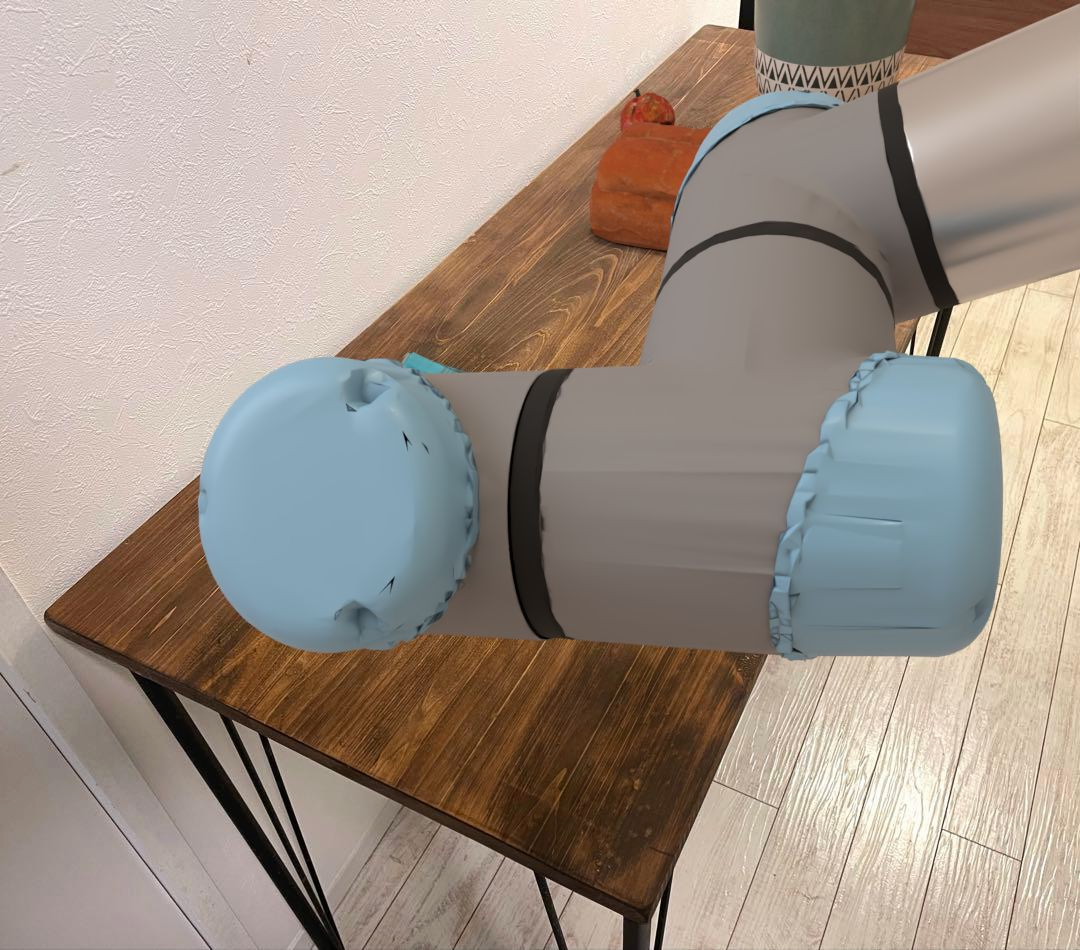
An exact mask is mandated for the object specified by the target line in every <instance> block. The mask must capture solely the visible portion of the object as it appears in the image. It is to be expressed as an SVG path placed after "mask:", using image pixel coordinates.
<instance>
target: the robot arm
mask: <svg viewBox="0 0 1080 950" xmlns="http://www.w3.org/2000/svg"><path fill="white" fill-rule="evenodd" d="M712 128H713V129H712V130H711V131H710V133H709V134H708V135H707V137H706V138H705V139H704V141H703V143H702V144H701V146H700V148H699V150H698V152H697V154H696V156H695V159H694V161H693V164H692V166H691V167H690V169H689V171H688V173H687V175H686V177H685V179H684V181H683V183H682V185H681V188H680V190H679V193H678V196H677V199H676V203H675V208H674V210H673V213H672V216H671V232H670V242H669V247H668V251H667V252H666V256H665V260H664V266H663V270H662V274H661V279H660V284H659V287H658V290H657V293H656V296H655V298H654V299H655V300H654V306H653V309H652V312H651V315H650V319H649V322H648V323H649V324H648V326H647V331H646V335H645V339H644V342H643V346H642V350H641V354H640V358H639V361H638V365H618V366H617V365H616V366H595V367H592V366H591V367H576V368H575V367H574V368H552V369H537V370H533V369H532V370H507V371H505V370H504V371H478V372H477V371H475V372H474V371H473V372H470V373H420V372H419V371H418V370H416V369H413V368H408V369H406V368H405V367H403V366H402V365H401V363H402V362H401V361H399V360H396V359H392V358H367V359H365V358H364V359H353V358H348V357H342V356H316V357H309V358H304V359H299V360H297V361H293V362H290V363H287V364H285V365H282V366H279V367H277V368H276V369H274V370H272V371H271V372H269V373H267V374H265V375H264V376H263V377H261V378H260V379H258V380H257V381H256V382H254V383H253V384H251V385H250V386H249V387H247V388H246V389H245V390H244V392H242V393H241V394H240V395H239V396H238V398H236V400H234V401H233V403H232V404H231V405H230V406H229V408H228V409H227V411H225V413H224V415H223V417H222V418H221V420H220V421H219V423H218V425H217V427H216V428H215V431H214V432H213V434H212V436H211V438H210V440H209V443H208V445H207V447H206V451H205V454H204V458H203V461H202V464H201V469H200V476H199V495H198V499H197V506H198V507H197V508H198V527H199V536H200V542H201V545H202V546H201V547H202V549H203V553H204V557H205V560H206V563H207V565H208V567H209V570H210V573H211V575H212V578H214V580H215V582H216V584H217V586H218V587H219V590H220V591H221V593H222V594H223V596H224V597H225V599H226V600H227V601H228V603H229V604H230V605H231V606H232V607H233V608H234V610H235V611H236V612H237V613H238V614H239V615H240V616H241V618H242V619H244V620H245V622H247V623H248V624H250V625H251V626H252V627H254V628H255V629H257V630H258V631H259V632H260V633H262V634H263V635H266V636H267V637H269V638H271V639H273V640H274V641H276V642H278V643H280V644H283V645H285V646H287V647H290V648H292V649H295V650H300V651H306V652H310V653H318V654H338V653H344V652H350V651H351V652H352V651H357V650H363V649H365V650H371V651H375V652H376V651H377V652H378V651H389V650H392V649H395V648H396V647H397V646H398V644H399V643H401V642H405V643H409V642H412V641H414V640H415V639H417V638H418V637H419V636H422V635H423V636H424V635H425V636H426V635H445V636H460V637H462V636H463V637H475V638H476V637H479V638H492V639H493V638H494V639H507V640H508V639H509V640H522V641H523V640H524V641H538V642H549V641H551V640H553V639H562V640H565V639H566V640H569V641H570V640H571V641H574V640H575V641H586V642H596V643H597V642H598V643H609V644H610V643H612V644H622V645H623V644H624V645H625V644H626V645H637V646H650V647H663V648H664V647H665V648H678V649H691V650H703V651H716V652H731V653H744V654H757V655H767V656H768V655H770V656H780V657H781V658H782V659H787V660H788V661H789V662H793V661H804V662H806V661H807V660H814V659H816V658H818V657H900V658H901V657H906V658H907V657H908V658H910V657H912V658H913V657H914V658H916V657H917V658H940V657H947V656H951V655H953V654H956V653H958V652H960V651H962V650H965V649H966V648H967V647H968V646H970V645H971V644H973V642H975V641H976V640H977V638H978V637H979V636H980V635H981V633H982V632H983V631H984V629H985V627H986V625H987V623H988V622H989V620H990V617H991V614H992V611H993V608H994V604H995V600H996V595H997V588H998V585H999V577H1000V569H1001V558H1002V548H1003V547H1002V546H1003V527H1004V526H1003V524H1004V523H1003V521H1004V470H1003V453H1002V443H1001V442H1002V441H1001V431H1000V423H999V416H998V410H997V405H996V400H995V397H994V394H993V391H992V389H991V387H990V385H988V384H987V380H986V379H985V377H984V376H983V374H982V373H981V372H980V371H979V370H977V368H975V366H974V365H973V364H972V363H970V362H968V361H966V360H964V359H960V358H957V357H947V356H929V355H918V354H917V355H914V354H908V353H906V352H903V353H902V352H900V351H898V352H897V344H896V325H898V324H902V323H905V322H907V321H908V322H909V321H912V320H915V319H918V318H923V317H925V316H929V315H932V314H935V313H938V312H940V311H941V310H944V309H948V308H952V307H956V306H959V305H960V306H961V305H963V304H966V303H970V302H973V301H976V300H980V299H983V298H986V297H991V296H994V295H996V294H997V295H998V294H1001V293H1004V292H1007V291H1010V290H1014V289H1017V288H1020V287H1025V286H1028V285H1031V284H1035V283H1038V282H1041V281H1044V280H1048V279H1051V278H1054V277H1055V278H1056V277H1058V276H1061V275H1064V274H1065V275H1066V274H1068V273H1072V272H1075V271H1079V270H1080V3H1078V4H1075V5H1073V6H1071V7H1068V8H1066V9H1064V10H1061V11H1059V12H1057V13H1055V14H1052V15H1049V16H1047V17H1045V18H1042V19H1040V20H1038V21H1036V22H1034V23H1031V24H1028V25H1026V26H1024V27H1022V28H1019V29H1016V30H1015V31H1012V32H1010V33H1008V34H1006V35H1003V36H1000V37H999V38H995V39H994V40H991V41H989V42H986V43H984V44H982V45H979V46H977V47H975V48H972V49H970V50H968V51H966V52H963V53H961V54H959V55H956V56H954V57H952V58H950V59H947V60H945V61H942V62H939V63H938V64H935V65H933V66H931V67H929V68H926V69H924V70H921V71H919V72H917V73H914V74H912V75H910V76H908V77H905V78H903V79H900V80H898V81H896V82H895V83H894V84H891V85H889V86H886V87H884V88H881V89H879V90H876V91H874V92H871V93H869V94H866V95H864V96H862V97H859V98H857V99H854V100H852V101H849V102H847V103H846V102H844V101H842V100H840V99H838V98H836V97H834V96H831V95H828V94H825V93H821V92H810V91H802V90H795V91H776V92H770V93H767V94H764V95H761V96H759V95H757V96H755V97H752V98H751V99H749V100H747V101H745V102H743V103H741V104H740V105H738V106H736V107H735V108H733V109H731V110H730V111H729V112H728V113H726V115H724V116H722V118H721V119H719V121H717V123H716V124H715V125H714V126H713V127H712Z"/></svg>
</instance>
